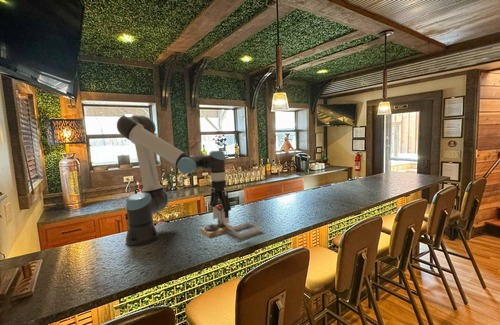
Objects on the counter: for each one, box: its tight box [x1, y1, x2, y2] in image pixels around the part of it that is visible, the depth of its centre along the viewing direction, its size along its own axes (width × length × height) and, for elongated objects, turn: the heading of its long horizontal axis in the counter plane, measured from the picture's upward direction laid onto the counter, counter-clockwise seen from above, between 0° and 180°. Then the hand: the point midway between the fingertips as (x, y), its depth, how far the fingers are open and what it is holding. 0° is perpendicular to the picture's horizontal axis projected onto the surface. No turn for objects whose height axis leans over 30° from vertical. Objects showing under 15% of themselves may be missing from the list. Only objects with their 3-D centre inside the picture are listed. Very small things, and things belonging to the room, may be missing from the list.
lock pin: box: [215, 203, 225, 228], centre depth 133 cm, size 5×5×14 cm
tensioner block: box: [199, 223, 233, 238], centre depth 132 cm, size 14×10×5 cm
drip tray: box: [227, 222, 262, 240], centre depth 129 cm, size 13×11×3 cm
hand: (220, 220), depth 133 cm, fingers open, 11 cm apart
